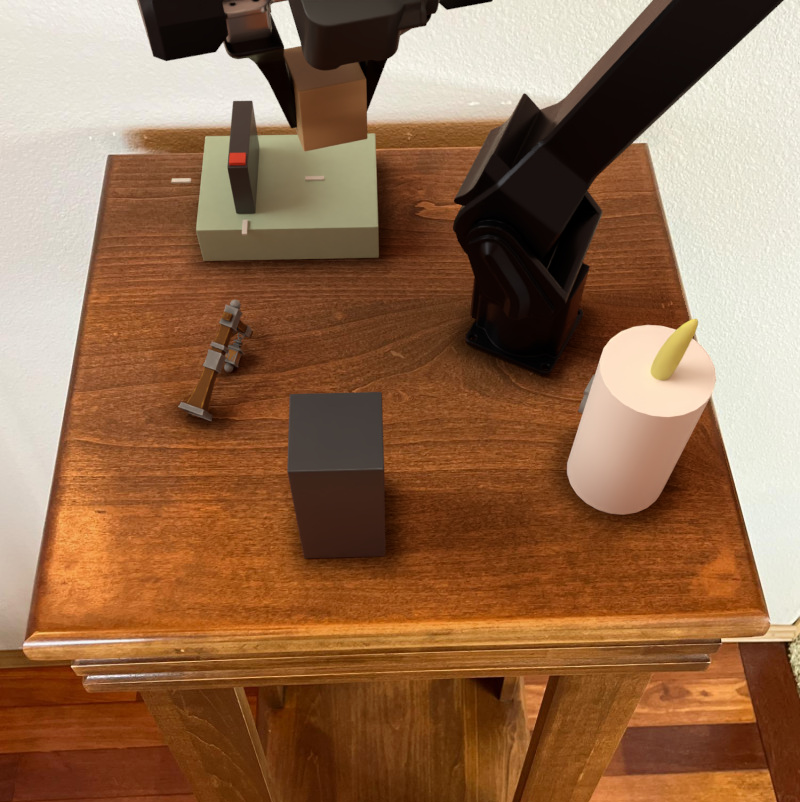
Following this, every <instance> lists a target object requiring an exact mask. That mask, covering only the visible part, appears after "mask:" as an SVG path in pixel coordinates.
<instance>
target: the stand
mask: <svg viewBox="0 0 800 802" xmlns="http://www.w3.org/2000/svg"><path fill="white" fill-rule="evenodd" d="M383 413H384V412H383V393H382V391H364V392H362V391H356V392H321V393H320V392H318V393H317V392H315V393H314V392H313V393H290V394H289V400H288V434H287V435H288V437H287V468H286V470H287V471H286V472H287V477H288V482H289V487H290V493H291V498H292V503H293V507H294V513H295V519H296V524H297V530H298V534H299V539H300V544H301V545H300V546H301V549H302V557H303V559H328V558H329V559H331V558H332V559H334V558H365V557H366V558H369V557H370V558H371V557H385V556H386V499H385V495H386V493H385V492H386V490H385V487H386V485H385V447H384V446H385V445H384V444H385V443H384V418H383V417H384V416H383V415H384V414H383Z"/></svg>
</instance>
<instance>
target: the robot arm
mask: <svg viewBox="0 0 800 802" xmlns="http://www.w3.org/2000/svg"><path fill="white" fill-rule="evenodd" d="M287 1H288V5H289V8H290V11H291V15H292V19H293V21H294V22H293V23H294V24H295V28H296V32H297V36H298V39H299V41H300V46H301V47H302V51H303V55H304V57H305V60H306V61H307V62H308V64H310V65H311V66H312V67H313V68H315V69H318V70H323V71H327V70H333V69H337V68H338V67H340V66H341V65H346V64H351V63H356V62H358V63H359V65H360V67H361V69H362V71H363V74H364V76H365V78H366V93H367V112H368V111H369V108H370V105H371V103H372V100H373V97H374V95H375V92H376V89H377V88H378V85H379V82H380V79H381V76H382V75H383V72H384V69H385V66H386V64H387V62H388V59H391V58H393V57H394V55H396V53H397V52H398V49H399V46H400V39H401V36H402V35H404V34H405V33H407V32H410V31H411V30H412V29H417V28H422V27H426V26H427V24H428V23H429V21H430V20H431V18H432V15H434V14H436V13H437V12H438V9H439V5H441V6H442V7H443V8H444V9H445V10H446V11H449V10H455V9H460V8H465V7H471V6H477V5H483V4H488V3H493V1H494V0H136V2H137V6H138V10H139V12H140V16H141V20H142V23H143V27H144V30H145V33H146V37H147V40H148V43H149V46H150V50H151V53H152V57H154V58H157V59H159V60H162V61H165V62H170V61H175V60H181V59H186V58H192V57H197V56H202V55H207V54H213V53H217V51H218V50H219V49H220V48H221V46H222V45H223V46H224V50H225V52H226V54H227V55H228V56H229V57H230V58H232V59H234V60H243V59H249V60H251V61H252V62H253V63H254V64H255V65H256V67H257V68H258V69H259V71H260V72H261V73H262V75H263V77H264V78H265V79H266V81H267V82H268V84H269V86H270V89H271V90H272V92H273V94H274V97H275V99H276V100H277V103H278V105H279V107H280V109H281V111H282V113H283V115H284V117H285V119H286V121H287V123H288V124H289V128H290V129H295V128H297V120H296V105H295V101H294V97H293V92H292V88H291V84H290V80H289V75H288V71H287V67H286V63H285V59H284V49H285V45H284V42H283V40H282V37H281V35H280V33H279V30H278V28H277V25H276V23H275V20H274V18H273V16H272V7H271V6H272V5H273V4H277V3H282V2H287ZM784 1H785V0H651V2H649V4H648V5H647V6H646V7H645V8H644V9H643V11H641V12H640V14H639V15H638V16H637V17H636V18H635V19H634V21H633V22H632V23H631V24H630V25H629V26H628V27H627V28H626V29H625V30H624V32H623V33H622V34H621V35H620V36H619V37H618V38H617V39H616V40H615V41H614V43H613V44H612V45H611V46H610V47H609V48H608V49H607V51H605V52H604V53H603V55H602V56H601V57H600V58H599V59H598V60H597V62H596V63H595V64H594V65H593V66H592V67H591V68H590V70H589V71H588V72H586V74H585V75H583V77H582V78H581V79H580V80H579V82H577V84H576V85H575V86H574V87H573V88H572V89H571V91H570V92H569V93H568V94H567V95H566V96H565V97H564V98H562V99H561V100H559V102H556V103H554V104H551V105H549V106H546V107H543V108H541V109H540V107H539V106H538V105H537V104H536V103H535V102H534V101H533V100H532V99H531V98H530V96H529V95H528V94H527V93H522V95H521V97H520V99H519V101H518V103H517V104H516V106H515V107H514V110H513V111H512V113H511V114H510V116H509V118H508V119H507V120H505V121H504V122H503V123H502V124H501V125H498V126H496V127H494V128H492V129H491V130H489V132H488V134H487V136H486V137H485V139H484V142H483V143H482V145H481V147H480V149H479V152H478V153H477V154H476V157H475V159H474V161H473V163H472V164H471V166H470V168H469V171H468V172H467V174H466V176H465V178H464V180H463V182H462V183H461V185H460V187H459V189H458V191H457V193H456V195H455V197H454V199H453V203H454V204H456V205H459V206H460V208H459V210H458V212H457V214H456V216H455V218H454V220H453V225H452V231H453V232H454V233H455V236H456V241H457V242H458V244H459V246H460V247H461V249H462V250H463V252H464V253H465V254H466V256H467V258H468V261H469V264H470V268H471V270H472V273H473V285H472V294H471V303H470V312H469V315H470V317H471V319H473V320H474V322H473V324H472V325H471V326H470V328H469V330H468V331H467V333H466V334H465V336H464V343H465V344H466V345H467V346H469V347H471V348H473V349H476V350H479V351H481V352H483V353H486V354H487V355H491V356H493V357H495V358H498V359H500V360H501V361H504V362H506V363H509V364H511V365H515V366H517V367H518V368H519V367H520V368H522V369H524V370H527V371H529V372H532V373H534V374H536V375H539V376H541V377H548V376H550V375H551V374H552V373H553V371H554V369H555V367H556V366H557V364H558V362H559V360H560V358H561V357H562V355H563V353H564V351H565V350H566V348H567V346H568V345H569V342H570V341H571V339H572V337H573V335H574V334H575V332H576V330H577V329H578V327H579V325H580V324H581V322H582V319H583V316H584V310H583V309H581V308H580V305H581V302H582V298H583V294H584V291H585V287H586V283H587V279H588V275H589V271H590V268H591V267H590V265H589V264H587V263H585V262H584V260H585V258H586V256H587V254H588V251H589V248H590V247H591V243H592V241H593V239H594V236H595V234H596V231H597V228H598V227H599V224H600V222H601V219H602V217H603V214H604V212H603V209H602V208H601V207H600V205H599V203H597V201H596V200H595V199H594V197H593V195H592V194H591V193H590V192H589V189H590V187H591V186H592V184H593V183H594V182H595V180H596V179H597V177H598V176H600V174H601V173H602V172H604V171H605V170H606V169H607V168H608V167H609V166H610V165H611V164H612V163H613V162H614V161H615V160H617V158H618V157H619V156H620V155H622V154H623V153H624V152H625V151H626V150H627V149H628V148H629V147H630V146H631V145H633V143H634V142H635V141H636V140H638V139H639V138H640V137H641V136H642V135H643V134H644V133H645V132H647V130H648V129H649V128H650V127H651V126H652V125H654V124H655V123H656V122H657V121H658V120H659V119H660V118H661V117H662V116H663V115H664V114H665V113H666V112H667V111H669V110H670V109H671V108H672V107H673V105H675V104H676V103H677V102H678V101H679V100H681V98H682V97H684V95H685V94H686V93H688V92H689V91H690V89H692V88H693V87H694V86H695V85H696V84H697V83H699V81H700V80H701V79H702V78H703V77H704V76H705V75H707V73H708V72H710V71H711V70H712V69H713V68H714V67H716V65H717V64H718V63H719V62H720V61H721V60H723V58H724V57H726V56H727V54H729V53H730V52H731V51H732V50H733V49H734V48H735V47H736V46H737V45H738V44H740V43H741V42H742V41H743V40H744V39H745V38H746V37H747V36H748V35H749V34H750V33H751V32H752V31H753V30H754V29H755V28H756V27H758V26H759V25H760V24H761V23H762V22H763V21H764V20H765V19H766V18H767V17H768V16H769V15H770V14H772V12H773V11H774V10H775V9H777V8H778V7H779V6H780V5H781V4H782V3H783V2H784Z"/></svg>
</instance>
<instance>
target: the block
mask: <svg viewBox="0 0 800 802" xmlns="http://www.w3.org/2000/svg"><path fill="white" fill-rule="evenodd" d="M284 59H285V63H286V67H287V71H288V75H289V80H290V84H291V88H292V92H293V97H294V101H295V105H296V120H297V128H294V129H295V133H296V135H298V137H299V140H300V142H301V145H302V148H303V150H304V151H310V150H315V149H320V148H325V147H330V146H335V145H339V144H344V143H349V142H354V141H359V140H364V139H367V137H368V136H367V134H368V111H367V93H366V78H365V76H364V74H363V71H362V69H361V67H360V65H359V63H358V62H356V63H351V64H346V65H341V66H340V67H338V68H337V69H333V70H327V71H323V70H318V69H315V68H313V67H312V66H311V65H310V64H308V62H307V61H306V60H305V57H304V55H303V51H302V47H301V45H299V46H293V47H289V48H284Z"/></svg>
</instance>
